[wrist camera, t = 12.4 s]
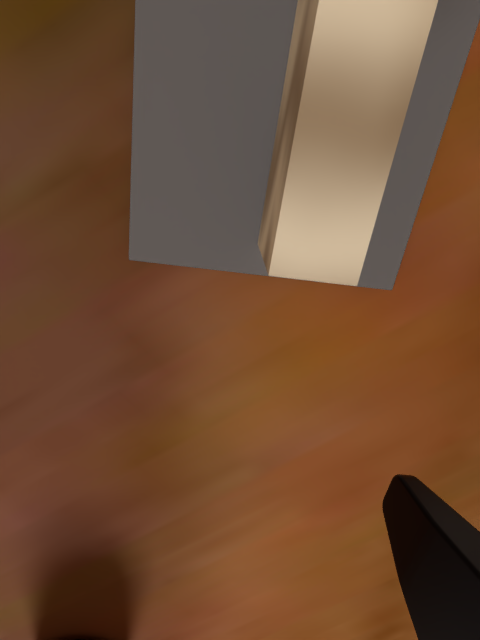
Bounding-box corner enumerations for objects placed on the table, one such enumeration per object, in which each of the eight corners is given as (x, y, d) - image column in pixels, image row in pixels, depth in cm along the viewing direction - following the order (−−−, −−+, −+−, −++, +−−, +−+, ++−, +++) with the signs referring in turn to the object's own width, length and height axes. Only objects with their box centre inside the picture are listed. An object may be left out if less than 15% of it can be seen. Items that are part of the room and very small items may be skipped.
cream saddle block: (391, 260, 19) (447, 306, 14) (190, 235, 18) (182, 276, 13) (529, -179, 13) (703, -344, 8) (236, -256, 12) (249, -493, 7)
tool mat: (385, 284, 20) (392, 290, 19) (132, 254, 19) (128, 259, 18) (547, -234, 13) (567, -255, 12) (149, -344, 11) (145, -375, 11)
